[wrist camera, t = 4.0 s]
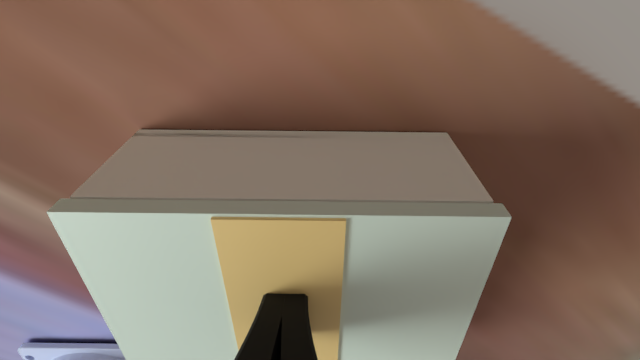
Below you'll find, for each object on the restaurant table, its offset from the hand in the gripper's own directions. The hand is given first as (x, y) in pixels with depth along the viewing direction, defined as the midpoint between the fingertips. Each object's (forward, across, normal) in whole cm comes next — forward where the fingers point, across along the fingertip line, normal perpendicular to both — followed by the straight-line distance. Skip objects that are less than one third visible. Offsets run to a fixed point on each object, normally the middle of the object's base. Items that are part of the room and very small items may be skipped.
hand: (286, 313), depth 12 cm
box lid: (+1, 0, +2) cm, 2 cm away
